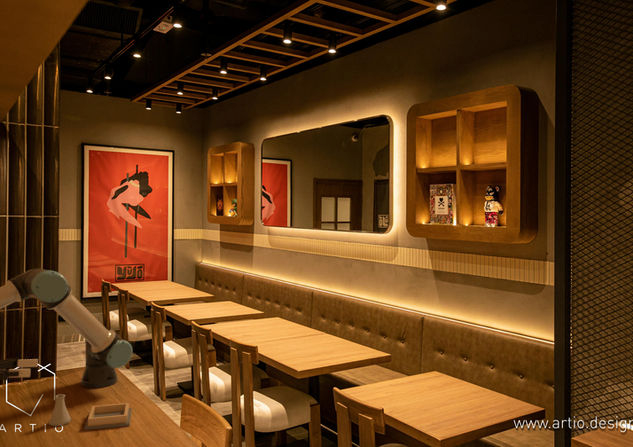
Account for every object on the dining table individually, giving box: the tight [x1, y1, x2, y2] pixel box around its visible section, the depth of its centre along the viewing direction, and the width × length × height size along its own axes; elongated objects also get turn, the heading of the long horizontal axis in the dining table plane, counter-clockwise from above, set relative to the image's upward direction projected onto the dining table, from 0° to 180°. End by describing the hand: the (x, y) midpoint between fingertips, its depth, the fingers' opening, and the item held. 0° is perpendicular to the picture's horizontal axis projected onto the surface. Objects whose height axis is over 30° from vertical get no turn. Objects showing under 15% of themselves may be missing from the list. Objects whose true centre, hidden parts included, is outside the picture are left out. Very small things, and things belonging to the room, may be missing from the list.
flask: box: [48, 393, 72, 427], centre depth 191 cm, size 7×7×10 cm
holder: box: [84, 402, 133, 431], centre depth 194 cm, size 15×15×4 cm
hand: (34, 367), depth 188 cm, fingers open, 13 cm apart
